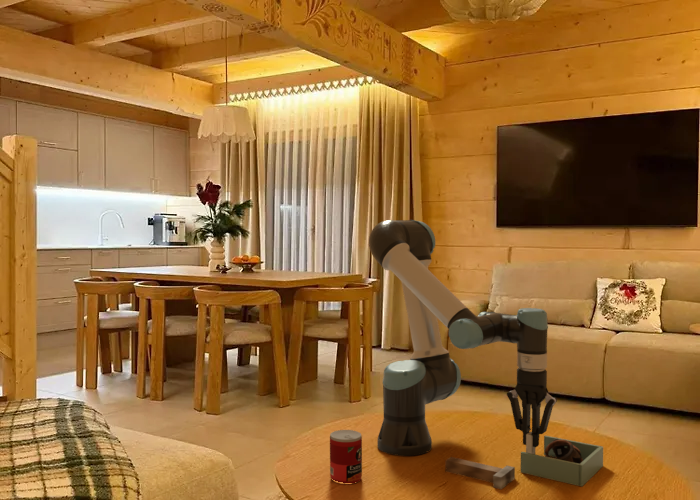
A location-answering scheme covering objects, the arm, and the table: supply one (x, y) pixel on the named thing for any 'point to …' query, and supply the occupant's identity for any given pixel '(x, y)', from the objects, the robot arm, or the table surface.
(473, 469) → the hammer
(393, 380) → the robot arm
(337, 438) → the canned food
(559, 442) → the pottery mug
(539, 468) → the green u-shaped frame
